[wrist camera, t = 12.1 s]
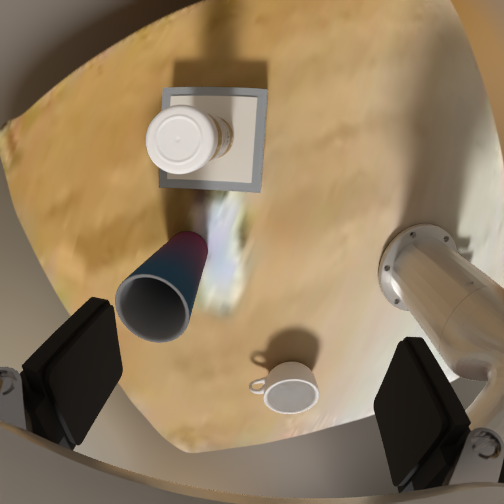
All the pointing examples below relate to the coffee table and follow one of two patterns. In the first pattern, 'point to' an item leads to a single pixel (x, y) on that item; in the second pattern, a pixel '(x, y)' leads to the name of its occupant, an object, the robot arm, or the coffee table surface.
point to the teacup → (288, 388)
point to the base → (244, 138)
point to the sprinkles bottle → (187, 138)
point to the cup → (163, 289)
